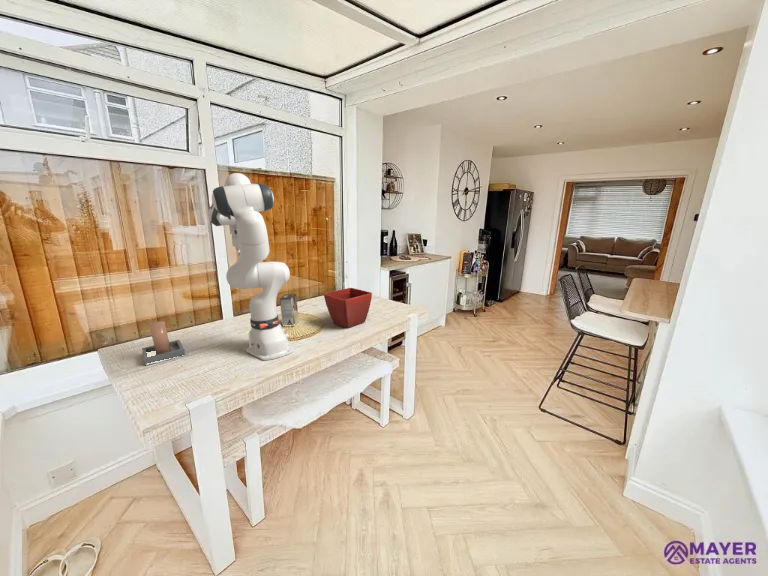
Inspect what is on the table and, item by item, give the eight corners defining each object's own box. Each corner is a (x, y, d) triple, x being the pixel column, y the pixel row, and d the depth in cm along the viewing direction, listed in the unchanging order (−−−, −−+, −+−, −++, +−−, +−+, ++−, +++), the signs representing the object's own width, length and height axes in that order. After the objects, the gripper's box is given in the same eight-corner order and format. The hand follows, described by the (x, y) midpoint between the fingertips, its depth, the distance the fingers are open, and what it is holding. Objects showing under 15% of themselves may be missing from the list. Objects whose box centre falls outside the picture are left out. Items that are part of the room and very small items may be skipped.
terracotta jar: (172, 353, 139) (165, 323, 136) (157, 357, 136) (149, 326, 132) (170, 349, 143) (163, 320, 140) (155, 353, 140) (148, 323, 136)
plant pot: (352, 314, 187) (350, 287, 183) (373, 322, 174) (372, 292, 170) (324, 323, 174) (322, 293, 170) (346, 332, 161) (344, 300, 157)
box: (185, 355, 139) (184, 349, 138) (145, 366, 130) (143, 359, 129) (180, 345, 150) (179, 339, 149) (143, 354, 141) (141, 348, 140)
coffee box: (287, 321, 178) (285, 293, 174) (299, 321, 178) (296, 293, 174) (282, 327, 169) (279, 298, 166) (294, 327, 169) (291, 298, 165)
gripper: (227, 230, 173) (230, 255, 176) (238, 231, 158) (241, 259, 161) (239, 229, 177) (242, 253, 180) (251, 230, 162) (254, 257, 165)
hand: (242, 256), depth 171 cm, fingers open, 8 cm apart
